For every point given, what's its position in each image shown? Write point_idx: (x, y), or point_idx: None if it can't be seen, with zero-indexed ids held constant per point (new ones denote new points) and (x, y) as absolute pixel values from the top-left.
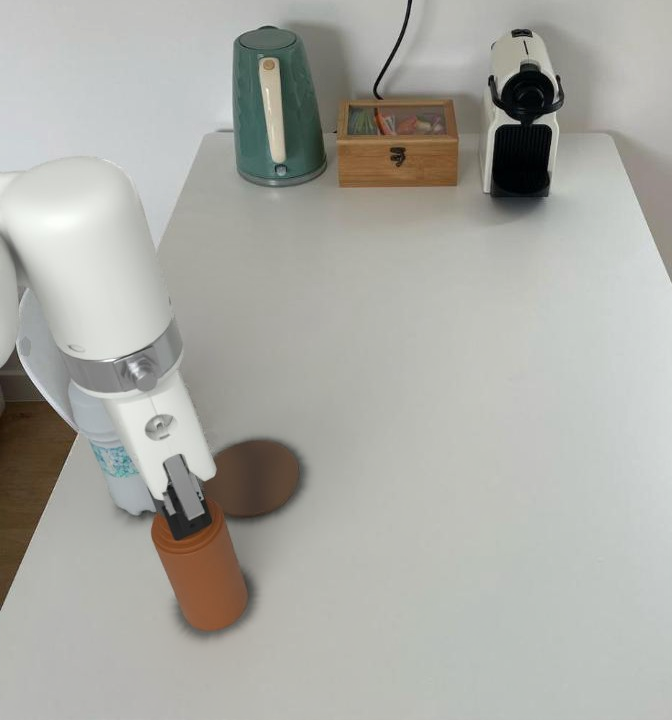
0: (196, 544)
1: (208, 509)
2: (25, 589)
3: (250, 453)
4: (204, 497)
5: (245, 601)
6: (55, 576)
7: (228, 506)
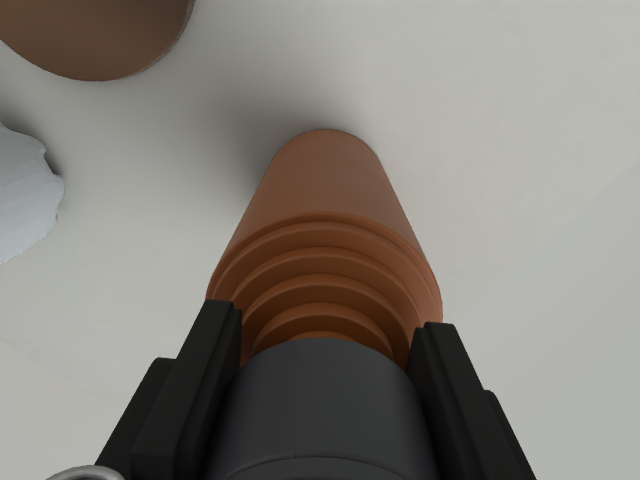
0: None
1: (478, 378)
2: (113, 398)
3: None
4: (510, 451)
5: (372, 151)
6: (113, 361)
7: (133, 52)
